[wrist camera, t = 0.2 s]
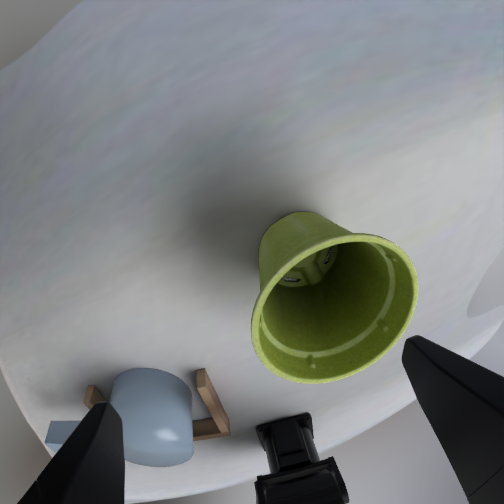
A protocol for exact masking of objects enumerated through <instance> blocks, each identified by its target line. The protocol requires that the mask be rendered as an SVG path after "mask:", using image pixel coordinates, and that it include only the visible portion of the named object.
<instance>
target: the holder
mask: <svg viewBox="0 0 504 504" xmlns="http://www.w3.org/2000/svg"><path fill="white" fill-rule="evenodd" d="M197 389H198V391H199V393H200V395H201V397H202V399H203V401H204V403H205V404H206V406H207V408H208V410H209V412H210V414H211V415H212V417H213V418H209V419H203V420H197V421H192V426H193V441H196V440H203V439H210V438H216V437H222V436H228V435H231V434H230V426H229V419H228V417H227V415H226V413H225V411H224V409H223V406H222V404H221V402H220V400H219V398H218V396H217V394H216V392H215V390H214V387H213V385H212V383H211V381H210V379H209V376H208V374H207V372H206V370H205V369H200V370H197ZM104 401H106V400H105V399H104V397H103V396H102V395H101V394H100V392H99V391H98V390H97V388H96V387H95V386H94V385H92V386H88V388H87V391H86V395H85V398H84V403H85V405H86V406H87V407H88V408H89V409H91V408H92V407H93V406H94V404H95V403H97V402H104Z"/></svg>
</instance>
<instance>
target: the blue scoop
mask: <svg viewBox="0 0 504 504" xmlns="http://www.w3.org/2000/svg"><path fill="white" fill-rule="evenodd" d="M110 403H111V405H112V406H113V407H114V409H115V410H116V411H117V413H118V414H119V415H120V417H121V419H122V424H123V443H124V458H125V460H126V461H129V462H132V463H135V464H139V465H144V466H151V467H169V466H175V465H179V464H182V463H184V462H186V461H188V460H189V459H190V458H191V457H192V455H193V426H192V394H191V391H190V389H189V387H188V386H187V385H186V384H185V383H184V382H183V381H182V380H181V379H179V378H178V377H176V376H174V375H173V374H170V373H168V372H165V371H162V370H158V369H152V368H136V369H131V370H128V371H125V372H123V373H121V374H120V375H119V376H118V377H117V378H116V379H115V381H114V384H113V389H112V393H111V398H110ZM80 422H81V421H51V423H50V426H49V429H48V433H47V436H46V440H45V444H46V445H47V446H48V447H50V448H51V449H52V450H53V451H54V452H55V453H57V452H58V450H59V449H60V448H61V446H62V445H63V444H64V442H65V441H66V440H67V439H68V437H69V436H70V435H71V433H72V432H73V431H74V430H75V428H76V427H77V426H78V425H79V423H80Z"/></svg>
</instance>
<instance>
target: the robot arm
mask: <svg viewBox="0 0 504 504" xmlns="http://www.w3.org/2000/svg"><path fill="white" fill-rule="evenodd" d="M402 363H403V366H404V368H405V371H406V373H407V375H408V378H409V380H410V382H411V385H412V387H413V390H414V392H415V394H416V397H417V399H418V401H419V403H420V405H421V407H422V409H423V411H424V413H425V415H426V417H427V418H428V420H429V422H430V424H431V426H432V428H433V430H434V432H435V434H436V436H437V437H438V439H439V441H440V443H441V445H442V447H443V449H444V451H445V453H446V455H447V457H448V459H449V461H450V463H451V465H452V467H453V469H454V471H455V473H456V475H457V478H458V480H459V482H460V484H461V486H462V488H463V490H464V492H465V495H466V497H467V499H468V502H469V504H504V377H503V376H501V375H499V374H497V373H495V372H493V371H491V370H488V369H486V368H484V367H482V366H480V365H478V364H476V363H474V362H472V361H470V360H468V359H466V358H464V357H462V356H460V355H458V354H456V353H454V352H452V351H450V350H448V349H446V348H444V347H442V346H440V345H438V344H436V343H434V342H432V341H430V340H428V339H426V338H424V337H422V336H419V335H416V336H413V337H410V338H408V339H407V340H406V341H405V345H404V349H403V354H402ZM256 432H257V434H258V437H259V439H260V442H261V444H262V447H263V449H264V451H266V454H267V459H268V463H269V468H270V472H271V474H268V475H263V476H262V475H260V476H257V481H256V482H254V483H255V489H256V504H346V503H349V497H348V492H347V489H346V486H345V483H344V481H343V478H342V476H341V474H340V471H339V470H338V467H337V465H336V462H335V460H334V458H333V456H332V457H329V458H328V459H325V460H321V461H320V459H319V456H318V453H317V450H316V447H315V444H314V441H313V439H314V436H313V426H312V417H311V415H310V414H304V415H301V416H297V417H293V418H289V419H286V420H282V421H278V422H273V423H269V424H265V425H260V426H257V427H256ZM124 484H125V458H124V443H123V424H122V419H121V417H120V415H119V414H118V413H117V411H116V410H115V409H114V407H113V406H112V405H111V403H110V402H107V401H104V402H97V403H95V404H94V406H93V407H92V408H91V409H90V411H89V412H88V413H87V414H86V416H85V417H84V418H83V419H82V421H81V422H80V423H79V425H78V426H77V427H76V428H75V430H74V431H73V432H72V433H71V435H70V436H69V437H68V439H67V440H66V441H65V442H64V444H63V445H62V446H61V448H60V449H59V450H58V452H57V453H56V454H55V455H54V457H53V458H52V459H51V461H50V462H49V463H48V465H47V466H46V467H45V469H44V470H43V471H42V472H41V474H40V475H39V476H38V478H37V481H35V482H34V483H33V484H32V486H31V487H30V488H29V490H28V491H27V492H26V493H25V495H24V496H23V497H22V498H21V499H20V501H19V502H18V503H17V504H124Z"/></svg>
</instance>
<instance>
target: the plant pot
mask: <svg viewBox="0 0 504 504" xmlns="http://www.w3.org/2000/svg"><path fill="white" fill-rule="evenodd" d="M330 248H331V257H330V259H329V261H328V262H327V264H324V261H325V259H326V256H327V254H328V252H329V249H330ZM259 271H260V294H259V296H258V298H257V300H256V302H255V305H254V309H253V313H252V319H251V337H252V343H253V347H254V350H255V352H256V354H257V356H258V358H259V359H260V361H261V362H262V363H263V365H264V366H265V367H266V368H267V369H269V370H270V371H271V372H272V373H274V374H276V375H277V376H279V377H281V378H284V379H286V380H290V381H293V382H298V383H304V384H320V383H328V382H332V381H336V380H340V379H343V378H346V377H349V376H351V375H354V374H356V373H358V372H360V371H362V370H364V369H365V368H367V367H369V366H370V365H372V364H373V363H375V362H376V361H377V360H379V359H380V358H381V357H382V356H384V355H385V354H386V353H387V352H388V351H389V350H390V349H391V348H392V347H393V346H394V345H395V344H396V342H397V341H398V340H399V339H400V337H401V336H402V335H403V333H404V332H405V330H406V329H407V327H408V325H409V323H410V321H411V319H412V316H413V314H414V311H415V308H416V304H417V297H418V278H417V273H416V270H415V267H414V265H413V263H412V261H411V260H410V258H409V257H408V255H407V254H406V253H405V252H404V251H403V250H402V249H401V248H400V247H399V246H397V245H396V244H394V243H393V242H391V241H389V240H387V239H385V238H383V237H380V236H376V235H372V234H365V233H352V232H350V231H348V230H346V229H344V228H342V227H340V226H339V225H337V224H335V223H333V222H332V221H330V220H328V219H326V218H324V217H322V216H321V215H318V214H316V213H312V212H295V213H291V214H289V215H287V216H286V217H284V218H282V219H281V220H279V221H277V222H276V223H274V224H273V225H271V226H270V227H269V229H268V230H267V231H266V233H265V234H264V236H263V238H262V240H261V243H260V247H259ZM285 276H286V277H290V278H293V279H300V280H299V281H298V282H289V281H285V280H284V277H285Z"/></svg>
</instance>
